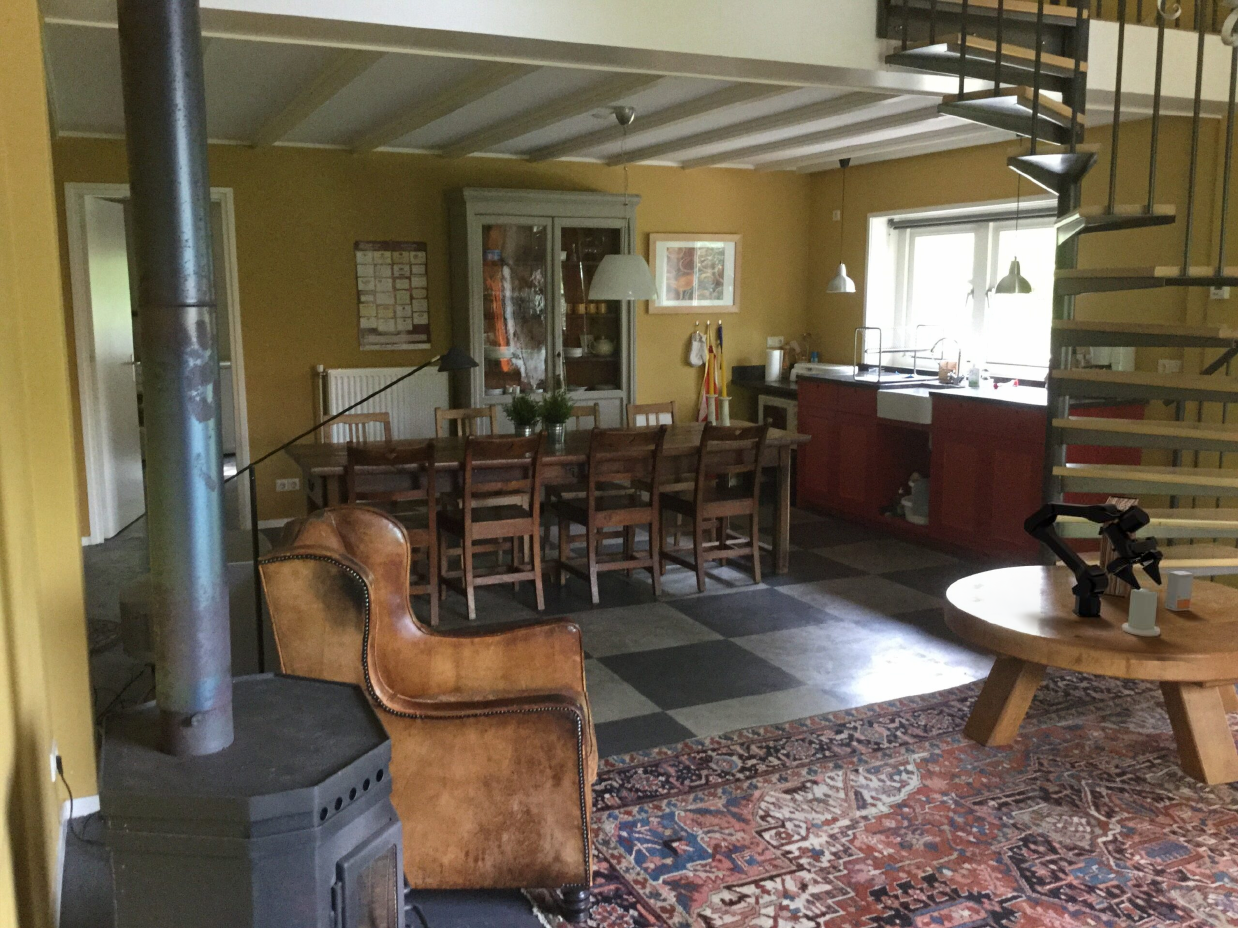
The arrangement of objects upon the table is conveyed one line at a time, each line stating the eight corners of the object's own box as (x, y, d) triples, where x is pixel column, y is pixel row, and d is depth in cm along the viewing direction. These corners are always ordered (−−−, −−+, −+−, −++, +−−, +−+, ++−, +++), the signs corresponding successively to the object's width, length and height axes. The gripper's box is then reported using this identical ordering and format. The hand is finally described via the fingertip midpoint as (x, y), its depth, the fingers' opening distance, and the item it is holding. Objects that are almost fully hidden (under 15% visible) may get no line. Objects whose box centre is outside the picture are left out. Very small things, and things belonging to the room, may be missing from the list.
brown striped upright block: (1126, 598, 343) (1134, 509, 339) (1096, 594, 348) (1103, 506, 343) (1131, 581, 365) (1139, 497, 361) (1103, 578, 370) (1109, 495, 365)
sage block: (1142, 630, 304) (1146, 594, 302) (1127, 625, 308) (1131, 589, 307) (1154, 628, 306) (1157, 592, 304) (1139, 623, 310) (1142, 588, 309)
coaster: (1131, 635, 302) (1131, 631, 302) (1116, 625, 312) (1116, 621, 312) (1166, 636, 302) (1166, 632, 302) (1149, 626, 312) (1150, 622, 312)
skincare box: (1175, 611, 328) (1178, 574, 327) (1164, 607, 332) (1167, 571, 331) (1190, 610, 330) (1194, 573, 328) (1180, 606, 334) (1183, 570, 332)
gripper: (1118, 531, 302) (1148, 579, 295) (1161, 523, 310) (1191, 569, 303) (1093, 550, 311) (1120, 596, 304) (1135, 541, 319) (1163, 586, 312)
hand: (1149, 587), depth 305 cm, fingers open, 9 cm apart
